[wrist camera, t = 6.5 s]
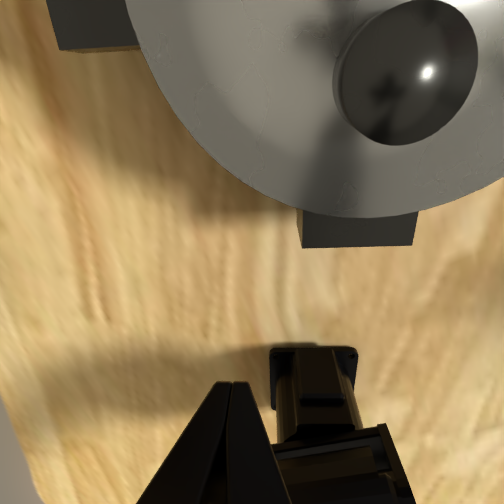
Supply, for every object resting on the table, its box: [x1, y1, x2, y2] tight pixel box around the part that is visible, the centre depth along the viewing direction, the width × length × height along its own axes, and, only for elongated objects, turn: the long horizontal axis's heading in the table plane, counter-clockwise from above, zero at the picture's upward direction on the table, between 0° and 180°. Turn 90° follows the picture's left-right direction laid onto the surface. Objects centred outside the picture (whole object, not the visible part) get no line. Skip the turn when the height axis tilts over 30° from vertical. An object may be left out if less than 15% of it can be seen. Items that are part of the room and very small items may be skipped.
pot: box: [46, 0, 419, 248], centre depth 13 cm, size 18×23×5 cm
